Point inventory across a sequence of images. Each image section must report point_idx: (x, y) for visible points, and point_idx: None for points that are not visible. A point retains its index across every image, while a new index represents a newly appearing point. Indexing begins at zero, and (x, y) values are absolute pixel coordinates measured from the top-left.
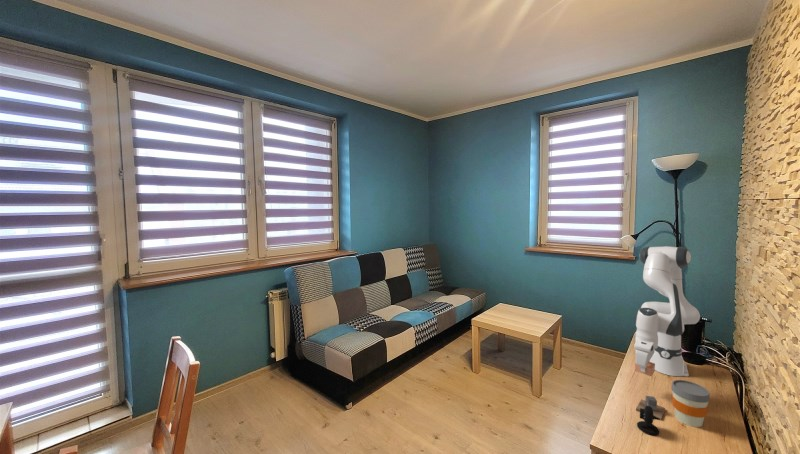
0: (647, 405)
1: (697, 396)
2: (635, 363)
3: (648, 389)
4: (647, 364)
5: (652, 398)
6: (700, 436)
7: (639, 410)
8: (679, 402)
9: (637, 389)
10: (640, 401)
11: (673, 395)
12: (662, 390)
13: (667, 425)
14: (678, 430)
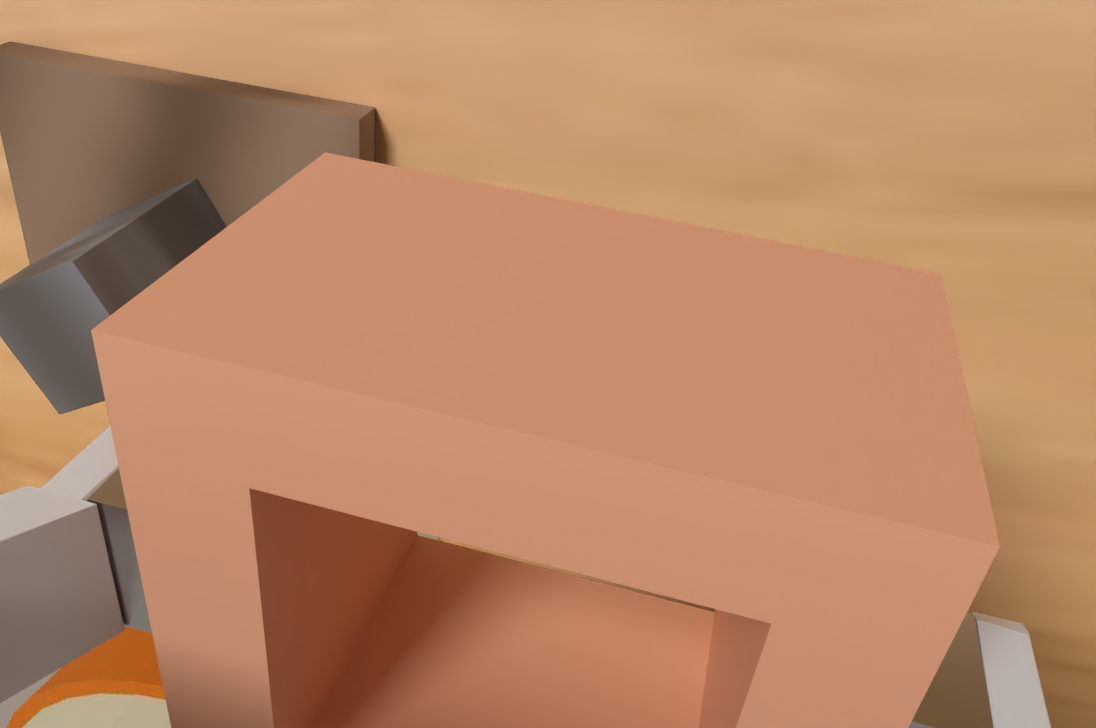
0: (91, 230)
1: None
2: (98, 333)
3: (975, 217)
4: (720, 716)
5: (72, 359)
6: None
7: (5, 97)
8: (10, 721)
9: (839, 16)
10: (264, 106)
11: (72, 717)
12: (1073, 429)
13: (33, 389)
14: (42, 471)
